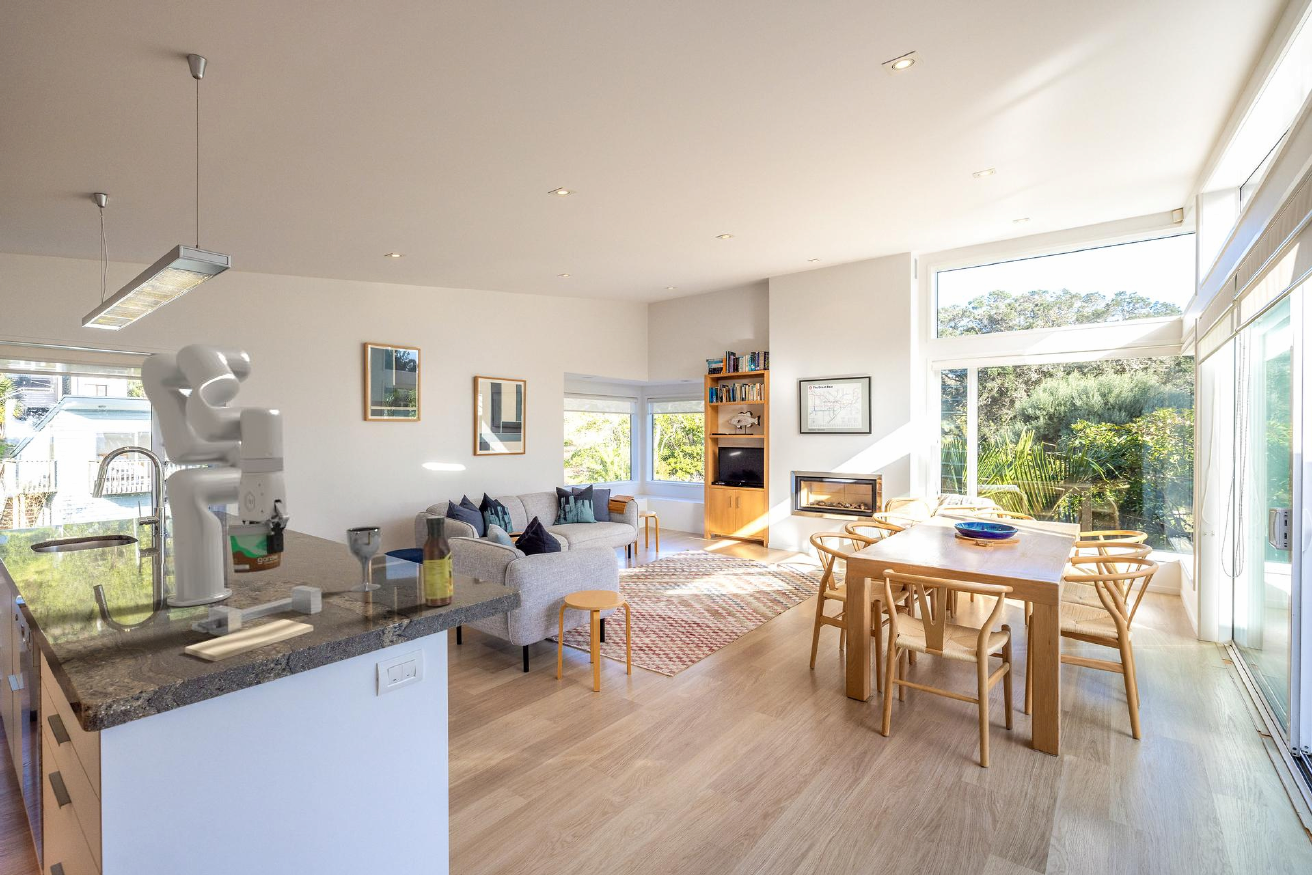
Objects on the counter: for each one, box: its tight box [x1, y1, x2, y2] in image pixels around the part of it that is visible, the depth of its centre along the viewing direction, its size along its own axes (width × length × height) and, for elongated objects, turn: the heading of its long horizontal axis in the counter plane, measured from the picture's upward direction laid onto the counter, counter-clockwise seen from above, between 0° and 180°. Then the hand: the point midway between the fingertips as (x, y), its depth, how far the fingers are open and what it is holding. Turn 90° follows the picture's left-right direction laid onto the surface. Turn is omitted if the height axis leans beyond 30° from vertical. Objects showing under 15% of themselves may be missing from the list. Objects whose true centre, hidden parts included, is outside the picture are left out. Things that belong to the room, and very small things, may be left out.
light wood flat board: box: [184, 618, 314, 663], centre depth 120 cm, size 10×18×1 cm, turn 152°
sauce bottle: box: [422, 515, 454, 607], centre depth 143 cm, size 6×6×20 cm
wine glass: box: [345, 525, 382, 593], centre depth 158 cm, size 8×8×15 cm
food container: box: [226, 522, 287, 574], centre depth 132 cm, size 12×6×10 cm, turn 168°
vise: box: [191, 585, 323, 637], centre depth 132 cm, size 12×22×5 cm, turn 152°
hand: (264, 550), depth 132 cm, fingers closed on food container, 6 cm apart
